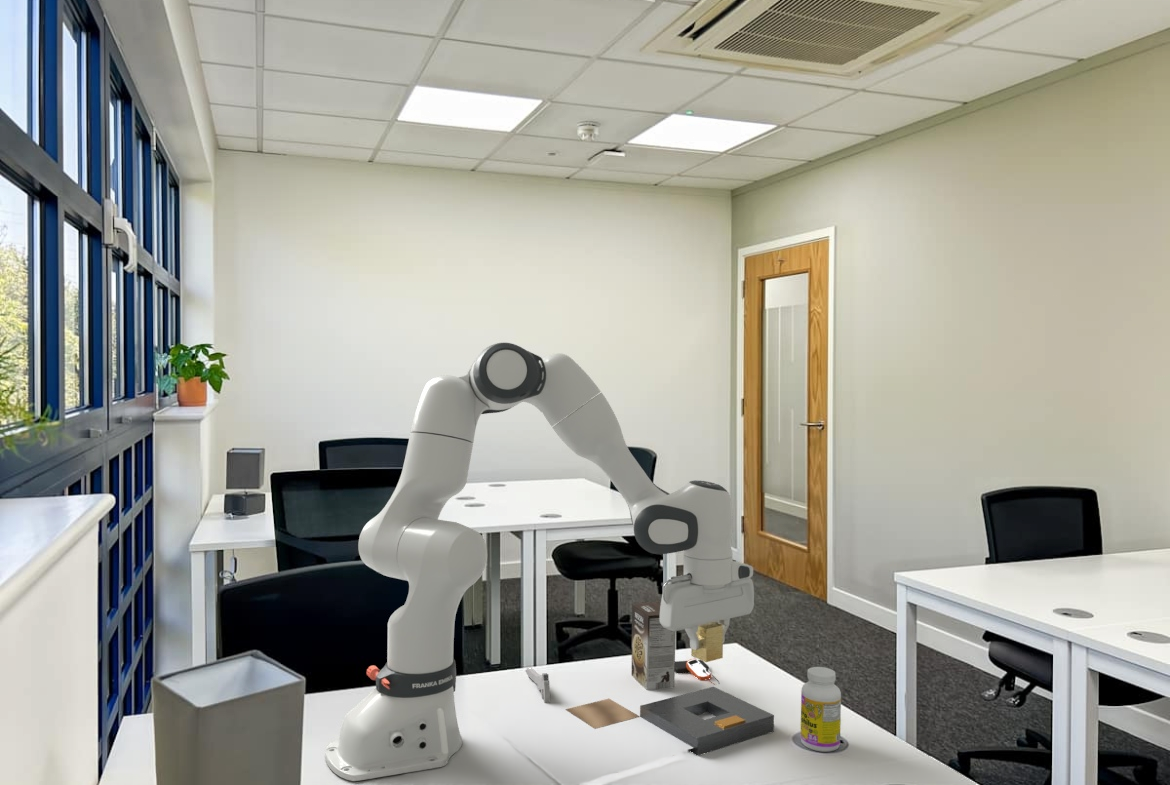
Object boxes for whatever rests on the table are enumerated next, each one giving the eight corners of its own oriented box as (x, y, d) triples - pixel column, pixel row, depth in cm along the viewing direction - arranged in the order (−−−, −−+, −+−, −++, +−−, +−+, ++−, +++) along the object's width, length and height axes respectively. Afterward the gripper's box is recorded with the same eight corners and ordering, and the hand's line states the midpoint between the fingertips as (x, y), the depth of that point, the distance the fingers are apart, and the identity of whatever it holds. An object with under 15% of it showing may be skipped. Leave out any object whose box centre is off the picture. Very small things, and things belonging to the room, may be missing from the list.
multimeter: (748, 696, 165) (749, 679, 165) (690, 699, 163) (690, 681, 163) (721, 666, 183) (722, 650, 183) (669, 668, 181) (669, 652, 181)
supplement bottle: (793, 738, 145) (794, 665, 144) (826, 734, 146) (828, 663, 146) (812, 755, 138) (814, 679, 138) (847, 751, 140) (849, 676, 140)
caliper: (549, 709, 157) (550, 676, 157) (544, 709, 157) (544, 677, 157) (530, 672, 177) (530, 643, 177) (525, 672, 176) (525, 643, 176)
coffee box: (629, 679, 172) (630, 603, 172) (658, 676, 174) (659, 601, 174) (646, 695, 163) (647, 615, 163) (675, 692, 165) (676, 612, 165)
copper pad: (594, 734, 145) (594, 728, 145) (565, 714, 154) (565, 709, 154) (639, 721, 151) (640, 716, 151) (608, 703, 159) (608, 698, 159)
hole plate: (697, 755, 137) (697, 736, 137) (639, 721, 151) (640, 704, 151) (773, 731, 147) (774, 713, 147) (713, 701, 161) (713, 685, 161)
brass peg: (706, 662, 147) (706, 629, 147) (691, 655, 150) (691, 623, 150) (722, 657, 149) (722, 625, 149) (707, 651, 152) (707, 619, 152)
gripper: (675, 582, 141) (674, 662, 141) (759, 566, 152) (759, 640, 152) (652, 574, 146) (651, 651, 146) (735, 559, 157) (735, 631, 158)
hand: (707, 645), depth 149 cm, fingers closed on brass peg, 4 cm apart
